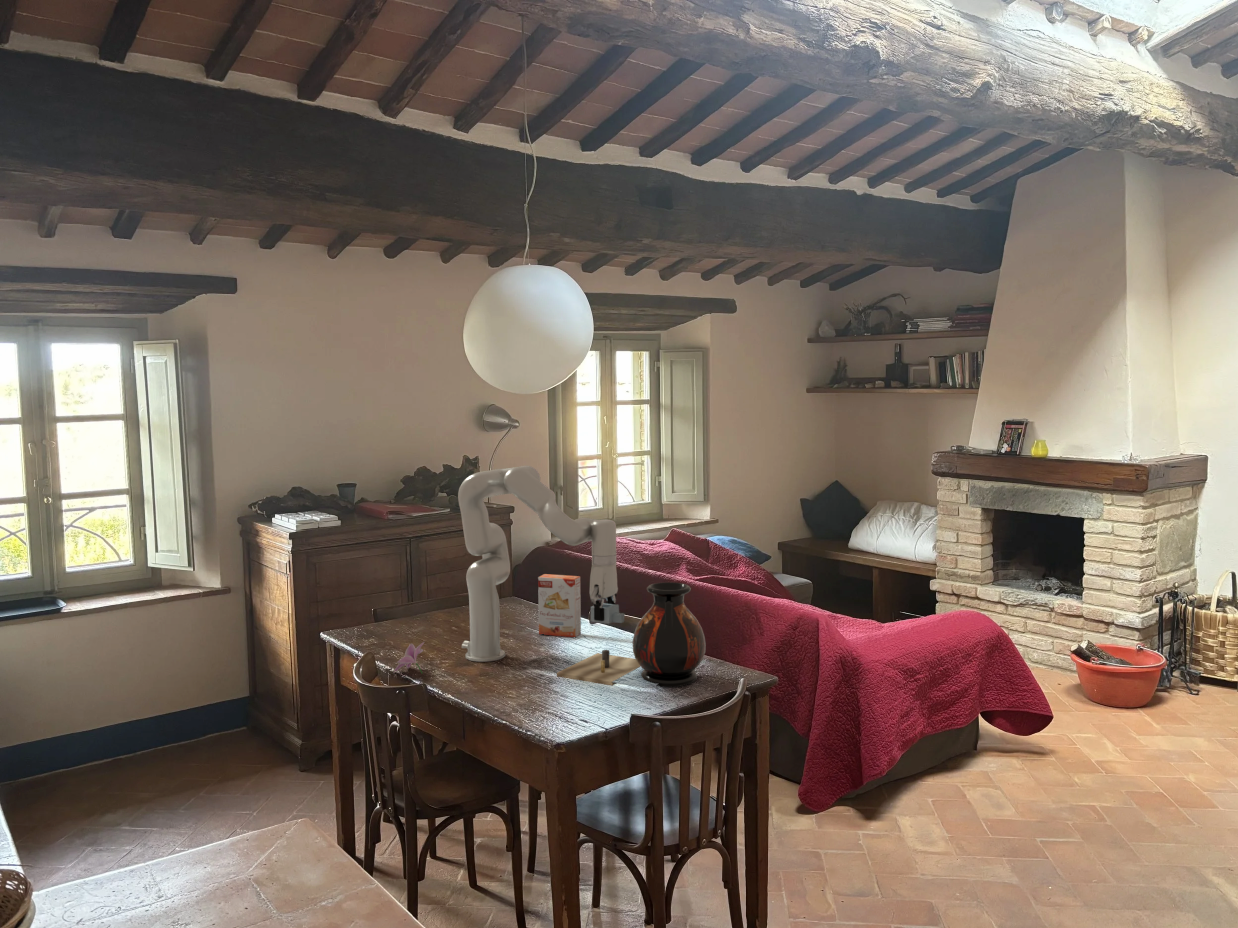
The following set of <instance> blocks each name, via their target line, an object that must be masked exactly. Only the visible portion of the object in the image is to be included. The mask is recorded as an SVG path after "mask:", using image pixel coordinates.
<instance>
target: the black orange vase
mask: <svg viewBox="0 0 1238 928" xmlns="http://www.w3.org/2000/svg"><path fill="white" fill-rule="evenodd" d="M691 589H692V588H691V587H690V585H688V584H686V583H679V582H656V583H652V584H649V585H648V586H647V587H646V590H647V592H648V593H649V594H652V596H653V603H652V605H651V607H650V608H649V609H648V611H646V613H645V614H643V615H642V617H641V619H640V620H639V621H638V623H637V625H636V627H635V630H634V633H633V637H632V653H633V656H634V659H636V661H637V662H638V664H639V665H640V668H642V669H643V670H642V672H641V673H640V676H641V679H643V680H644V681H646V682H649V683H652V684H655V685H656V687H661V688H663V687H664V688H676V686H678V687H683V685H684V686H688V685H690V684H693V683H694V682H695V681H696V680H697V678H698V674H697V672H696V671H695V670H696V669H697V668H698V667H699V666H700V665H701V663H702V661H703V660H704V657H705V654H706V646H707V645H706V644H707V643H706V637H705V633H704V630H703V628H702V626H701V623H700V621H699V620H698V619H697V617H696V616H695V615H694V614H693V613H692V611H690V609H689V608H688V607H687V606H686V604H685V601H684V600H685V595H686V594H689V593H690V592H691ZM687 684H688V685H687Z"/></svg>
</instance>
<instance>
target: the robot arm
mask: <svg viewBox="0 0 1238 928" xmlns="http://www.w3.org/2000/svg"><path fill="white" fill-rule="evenodd" d="M511 494H512V495H513V496H514V497H515V498H516V499H518V500H519V501H521V503H523V504H525V505H526V506H527V507H528V508H529V509H531V510H532V511H533V512H535V513H536V514H537V517H538V519H539V520H540V522H541V523H542V524H543V526H545V529H547V530H548V531H549V532H550V533H551V534H553V536H555V537H556V538H558V540H560V541H562V542H563V543H564V544H566V545H568V546H574V547H575V546H579V545H582V544H584V543H587V542H591V570H590V576H589V597H590V602H591V603H592V606H593V607H594V620H597V621H604V608H603V603H607V604H616V602H617V599H616V598H617V595H618V591H619V587H618V574H617V573H618V572H617V523H616V522H615V521H614V520H612V519H606V518H605V519H596V518H595V519H594V518H590V517H589V518H588V517H579V518H576V519H573V518H571V517H570V516H568V515H567V514H566V513H565V512H564V511H563V510H562V509H561V508H560V507H559V506H558V504H557V502H556V500H557V498H556V494H555V492H554V491H553V490H552V489H550V488H549V487H548V486H546V485H545V484H544V483H543V482H542V481H541V476H540V473H539V471H538V469H536V468H535V467H533V466H531V465H520V466H516V467H507V468H496V469H490V470H484V471H477V472H475V473H472V474H470V475H468V477H466V478H465V479H464V480H463V481H462V483H461V485H460V486H459V488H458V493H457V496H458V498H457V499H458V505H459V509H460V515H461V516H460V517H461V522H462V529H463V536H464V542H465V544H464V545H465V547H466V551H467V552H468V553H469V554H471V556H476V557H480V556H481V557H482V559H478V560H477V561H474V562H473V563H472V564H470V566H469V567H468V569H467V571H466V574H465V575H466V576H465V579H466V585H467V586H466V587H467V591H468V600H469V601H468V603H469V604H468V605H469V606H468V607H469V608H468V609H469V610H468V611H469V640H464V641H463V642H462V644H461V648H462V649H467V652H465V659H467V660H468V661H471V662H477V663H478V662H479V663H484V662H485V663H486V662H487V663H488V662H494V661H498V660H502V659H503V658H504V657H506V652H505V651H504V650H503V649H501V632H500V631H501V628H500V627H501V626H500V625H501V624H500V620H501V619H500V598H499V594H498V590H497V586H498V585H500V584H502V583H504V582H506V580H507V579H508V578H509V575H510V574H511V562H510V561H511V560H510V556H509V549H508V541H507V538H506V534H505V531H504V530H503V529H502V527H501V526H500V525H498V524H496V523H494V522H490V520H489V519H490V518H489V517H490V516H489V511H488V509H487V506H486V503H485V502H484V501H485V500H486V499H487V498H492V497H496V496H497V497H498V496H503V495H511Z"/></svg>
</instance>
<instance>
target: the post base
mask: <svg viewBox="0 0 1238 928" xmlns="http://www.w3.org/2000/svg"><path fill="white" fill-rule="evenodd" d="M601 660H605V673H601ZM638 668H641V666H640V665H639V664H638V662H637V661H636V659H635V658H633V657H625V656H619V655H611V654H610V650H608V649H602V650H601V653H600V652H597V653H595V654H593V655H591V656H587V658H585V659H582V660H581V661H579V662H576V663H574V664H572V665H570V666H568V667H566V668H564V669H561V670H560V671H557V672H556V677H557V678H562V679H563V678H564V679H569V680H574V681H580V682H587V683H592V684H597V685H599V684H600V685H603V686H605V685H606V686H611V687H613V686H615V685H616V684H617V682H615V681H617V680H618V679H620V678H622V677H624V676H626V675H628V674H629V673H631V672H633V671H634V670H636V669H638Z"/></svg>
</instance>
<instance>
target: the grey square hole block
mask: <svg viewBox="0 0 1238 928" xmlns="http://www.w3.org/2000/svg"><path fill="white" fill-rule="evenodd" d="M603 608H604V621H597V620H594V607H593V605H592V606H590V622H593V623H599V624H600V623H601V624H612V623H617V624H618V623H619V624H622V623H624V622H625V613H624V612H623V613H622V612H620V604H616V603H615V604H607V603H605V602H604V603H603Z"/></svg>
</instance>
